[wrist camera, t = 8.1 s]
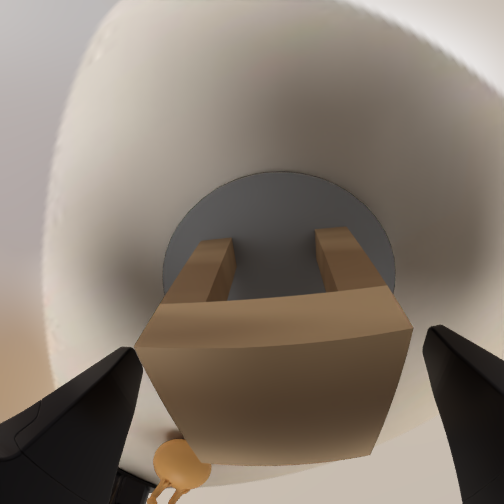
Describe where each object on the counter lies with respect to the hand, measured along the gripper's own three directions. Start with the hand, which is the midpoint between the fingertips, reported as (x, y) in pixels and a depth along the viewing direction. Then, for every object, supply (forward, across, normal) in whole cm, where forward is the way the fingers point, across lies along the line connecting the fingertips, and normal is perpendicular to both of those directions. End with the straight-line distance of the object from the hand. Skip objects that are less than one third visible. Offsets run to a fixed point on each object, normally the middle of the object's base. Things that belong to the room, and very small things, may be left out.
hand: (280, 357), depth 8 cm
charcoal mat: (+4, 0, 0) cm, 4 cm away
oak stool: (+3, 0, 0) cm, 3 cm away
